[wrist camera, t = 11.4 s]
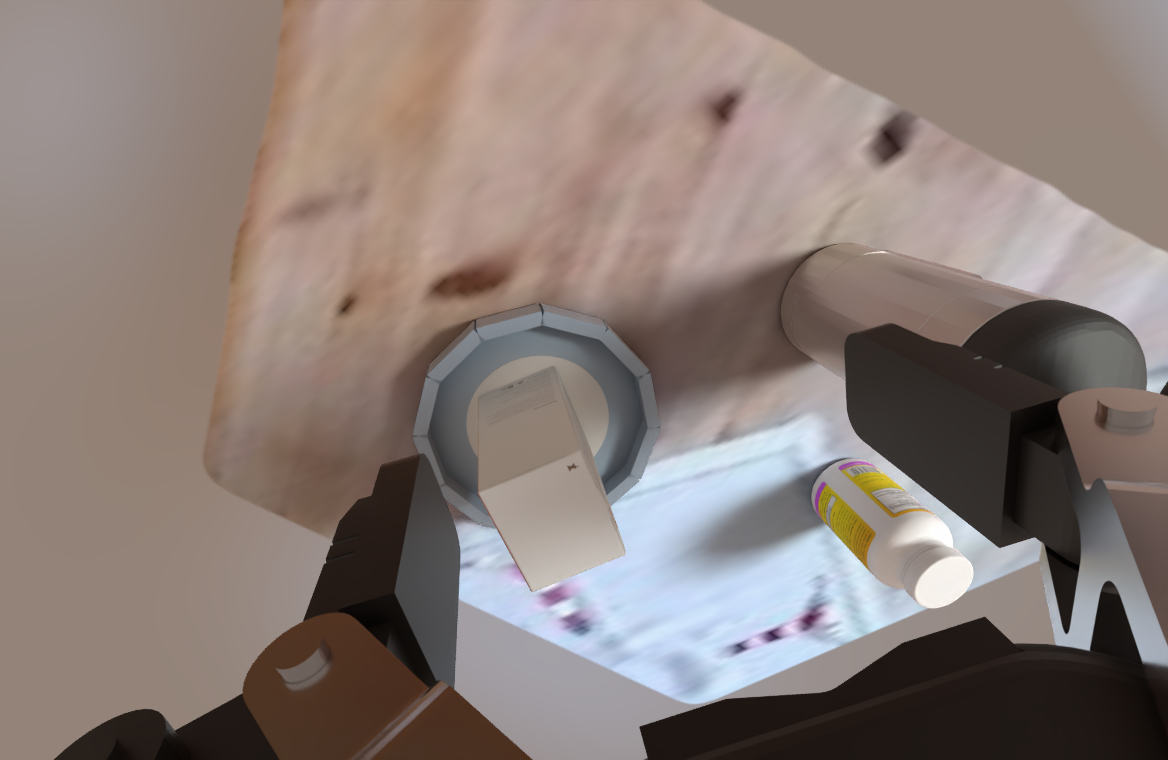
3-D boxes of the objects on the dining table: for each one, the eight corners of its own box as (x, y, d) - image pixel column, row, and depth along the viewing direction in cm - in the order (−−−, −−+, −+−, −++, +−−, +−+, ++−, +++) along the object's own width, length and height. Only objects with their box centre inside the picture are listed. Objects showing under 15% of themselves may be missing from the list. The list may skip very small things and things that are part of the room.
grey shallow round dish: (626, 279, 43) (634, 286, 41) (665, 480, 50) (673, 496, 48) (385, 342, 42) (379, 353, 40) (460, 539, 49) (459, 557, 47)
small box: (476, 395, 43) (474, 491, 32) (555, 363, 44) (583, 446, 32) (518, 480, 47) (531, 596, 35) (591, 449, 47) (630, 555, 35)
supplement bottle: (830, 529, 55) (924, 634, 44) (794, 488, 53) (884, 587, 41) (888, 485, 54) (1000, 580, 43) (855, 441, 52) (964, 529, 40)
